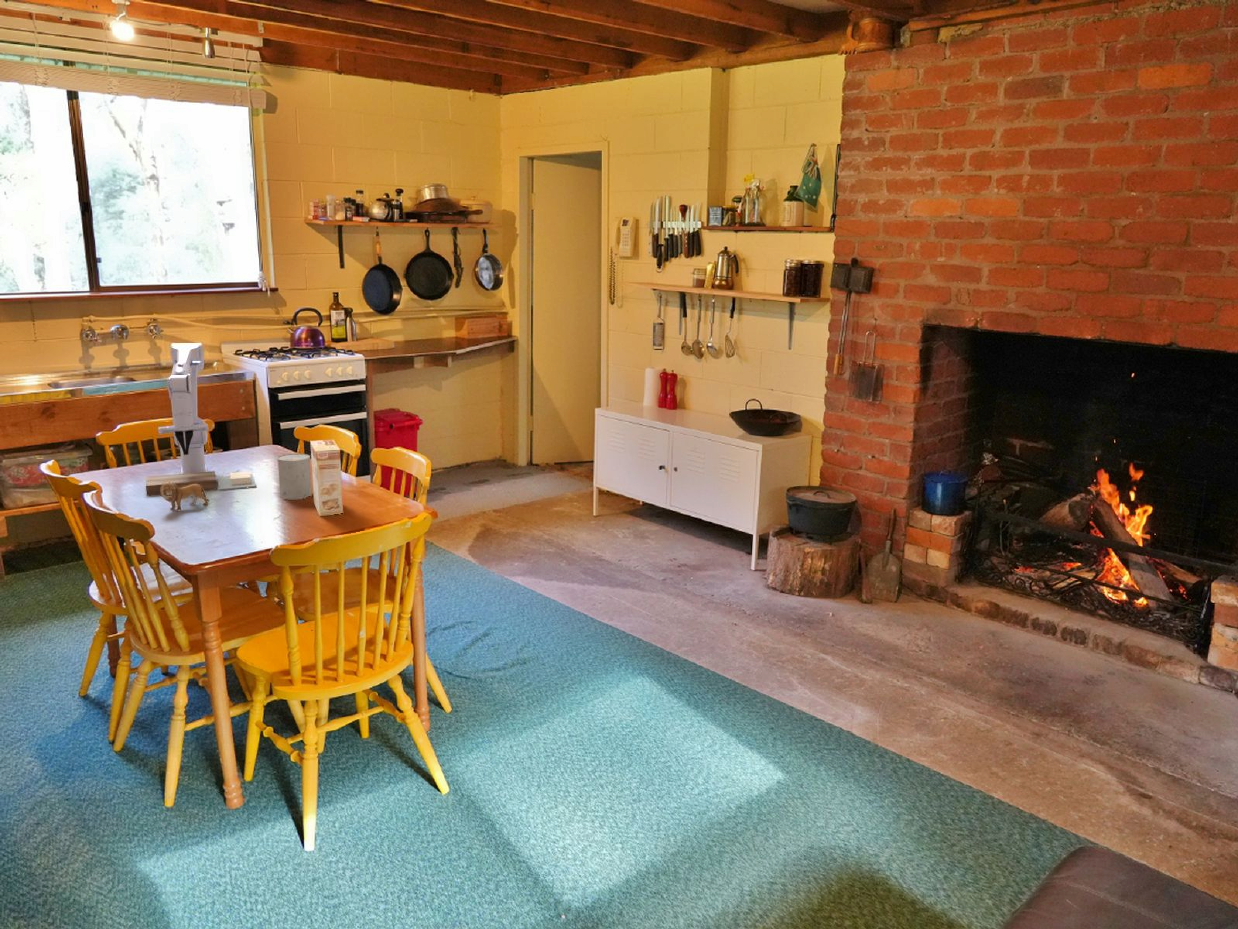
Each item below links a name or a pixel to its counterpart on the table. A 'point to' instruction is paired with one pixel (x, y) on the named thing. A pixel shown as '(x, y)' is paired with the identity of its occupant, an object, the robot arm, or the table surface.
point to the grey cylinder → (294, 476)
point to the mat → (226, 485)
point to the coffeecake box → (326, 477)
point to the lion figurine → (182, 493)
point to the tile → (240, 478)
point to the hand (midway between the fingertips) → (186, 454)
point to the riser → (181, 481)
